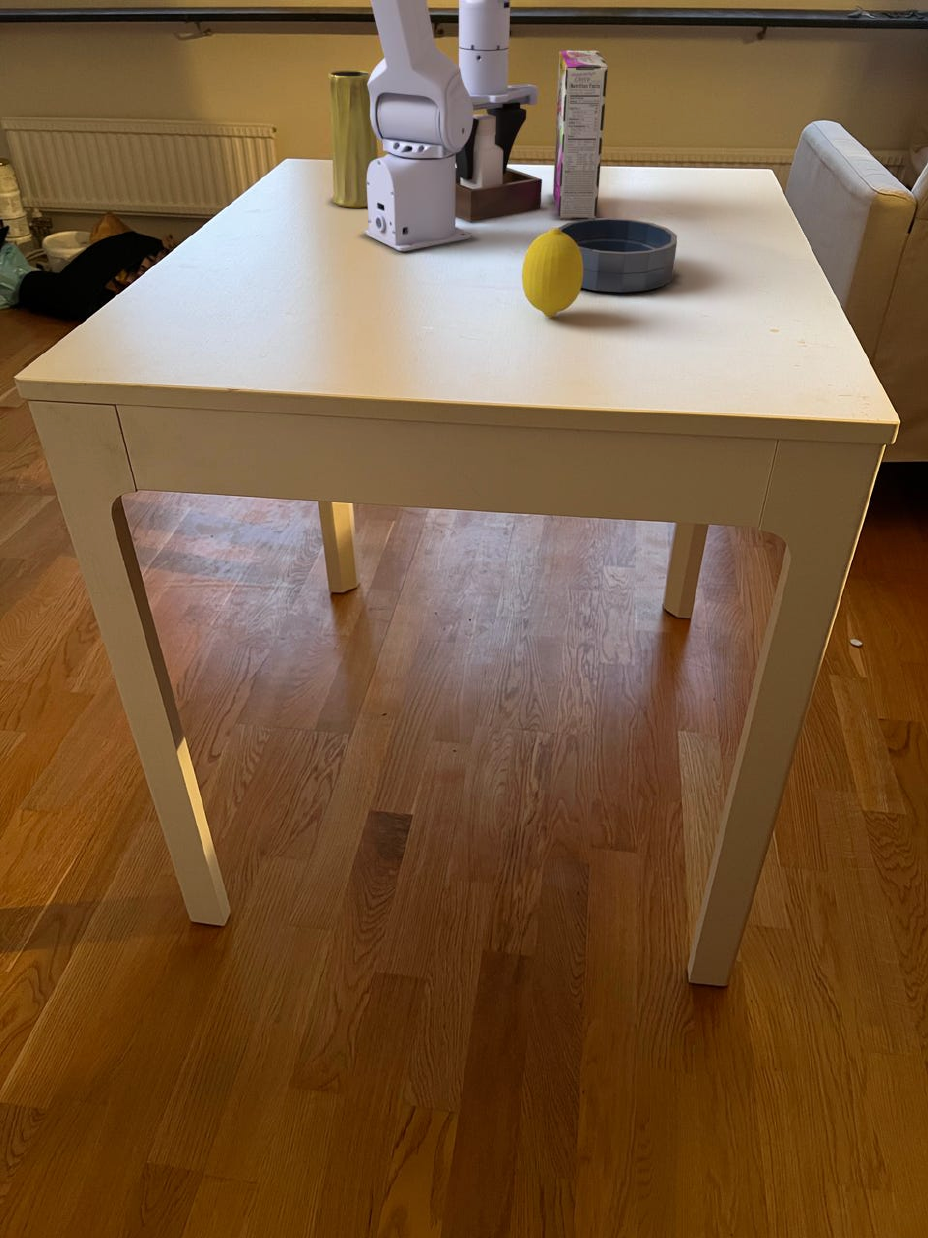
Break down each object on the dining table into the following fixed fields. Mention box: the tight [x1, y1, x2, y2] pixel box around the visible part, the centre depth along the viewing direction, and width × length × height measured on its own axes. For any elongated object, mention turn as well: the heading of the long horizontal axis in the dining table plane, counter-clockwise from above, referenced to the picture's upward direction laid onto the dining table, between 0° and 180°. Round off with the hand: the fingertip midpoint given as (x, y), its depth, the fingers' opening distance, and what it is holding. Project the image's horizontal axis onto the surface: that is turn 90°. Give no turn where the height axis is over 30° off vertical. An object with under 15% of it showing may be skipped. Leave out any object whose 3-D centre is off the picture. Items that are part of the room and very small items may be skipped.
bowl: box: [557, 217, 678, 293], centre depth 98 cm, size 12×12×4 cm
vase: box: [327, 69, 379, 209], centre depth 117 cm, size 6×6×14 cm
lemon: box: [521, 227, 583, 319], centre depth 87 cm, size 6×6×8 cm
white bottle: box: [460, 113, 503, 189], centre depth 117 cm, size 4×4×10 cm
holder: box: [455, 167, 543, 223], centre depth 119 cm, size 11×11×4 cm
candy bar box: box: [552, 49, 609, 221], centre depth 115 cm, size 11×5×16 cm, turn 179°
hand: (481, 175), depth 118 cm, fingers closed on white bottle, 4 cm apart
